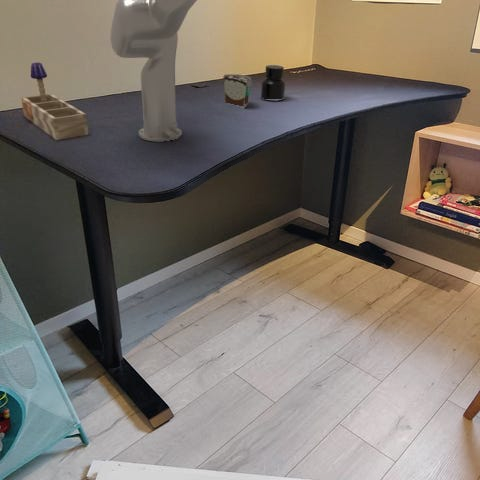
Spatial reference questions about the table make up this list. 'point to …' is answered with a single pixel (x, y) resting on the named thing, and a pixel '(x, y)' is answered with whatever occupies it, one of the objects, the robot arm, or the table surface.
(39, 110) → the rack
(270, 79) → the ink bottle
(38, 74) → the toy lamp
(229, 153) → the table surface
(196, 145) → the table surface
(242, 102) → the food container
